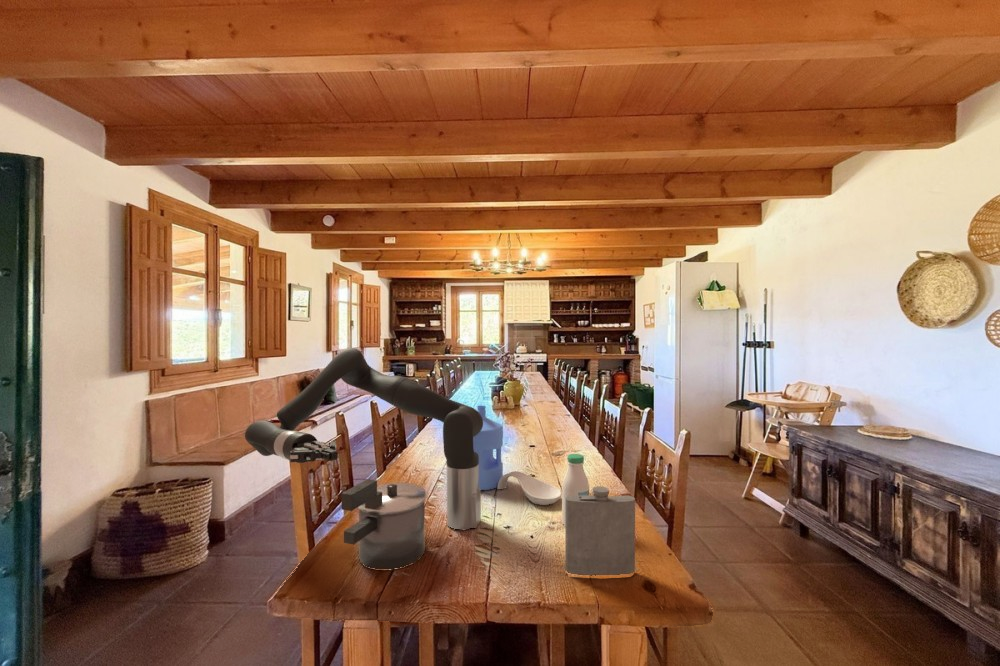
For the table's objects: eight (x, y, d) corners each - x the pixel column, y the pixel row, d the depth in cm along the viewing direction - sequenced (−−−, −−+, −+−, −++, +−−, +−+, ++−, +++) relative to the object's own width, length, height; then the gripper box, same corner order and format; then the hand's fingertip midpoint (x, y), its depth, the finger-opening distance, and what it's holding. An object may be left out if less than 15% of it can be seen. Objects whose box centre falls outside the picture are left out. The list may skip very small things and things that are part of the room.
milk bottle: (568, 532, 119) (568, 460, 119) (557, 520, 127) (557, 452, 126) (594, 529, 121) (594, 458, 121) (581, 517, 129) (581, 450, 128)
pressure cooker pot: (385, 533, 119) (384, 486, 119) (436, 543, 114) (436, 494, 113) (320, 581, 97) (319, 523, 97) (380, 597, 91) (379, 536, 91)
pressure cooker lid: (383, 485, 119) (383, 456, 119) (437, 492, 114) (437, 462, 114) (315, 524, 95) (315, 489, 95) (379, 537, 90) (379, 499, 90)
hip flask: (632, 569, 101) (632, 484, 101) (638, 579, 97) (638, 491, 97) (564, 569, 101) (564, 484, 101) (567, 580, 97) (567, 491, 97)
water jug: (453, 489, 151) (453, 409, 151) (467, 474, 166) (467, 401, 166) (497, 493, 147) (497, 411, 147) (507, 477, 163) (507, 403, 162)
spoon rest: (568, 501, 141) (568, 479, 141) (548, 513, 132) (548, 490, 132) (510, 484, 156) (510, 464, 156) (489, 494, 147) (489, 473, 147)
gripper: (270, 437, 109) (308, 447, 99) (318, 427, 120) (357, 434, 110) (270, 467, 109) (309, 479, 99) (318, 454, 120) (358, 464, 110)
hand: (334, 456), depth 105 cm, fingers closed
